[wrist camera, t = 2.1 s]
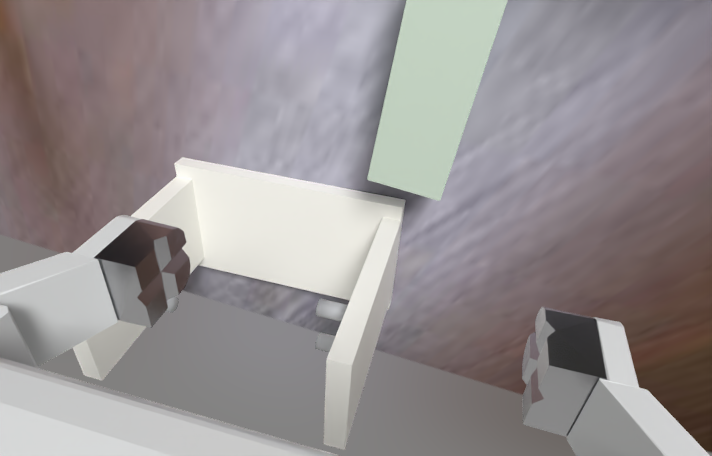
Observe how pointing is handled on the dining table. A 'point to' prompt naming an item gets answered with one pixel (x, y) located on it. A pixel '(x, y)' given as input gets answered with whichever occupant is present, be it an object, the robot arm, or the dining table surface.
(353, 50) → the dining table surface
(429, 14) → the shelf board
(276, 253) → the shelf unit
